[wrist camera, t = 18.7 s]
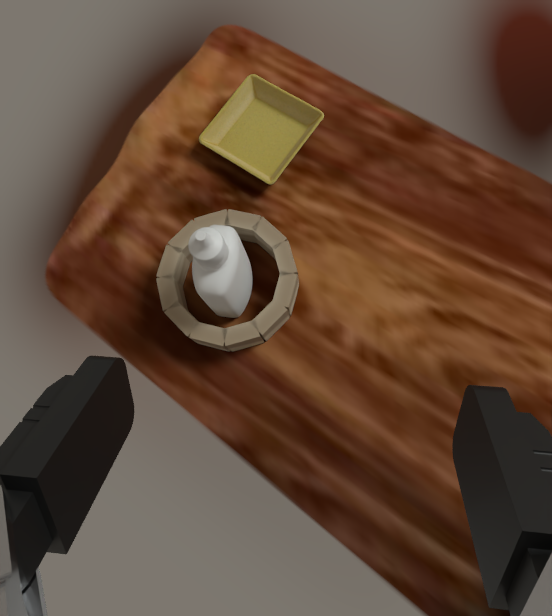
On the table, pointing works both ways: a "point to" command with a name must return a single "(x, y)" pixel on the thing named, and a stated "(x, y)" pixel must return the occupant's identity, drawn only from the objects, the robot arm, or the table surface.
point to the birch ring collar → (180, 259)
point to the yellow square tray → (261, 128)
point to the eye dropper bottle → (221, 269)
